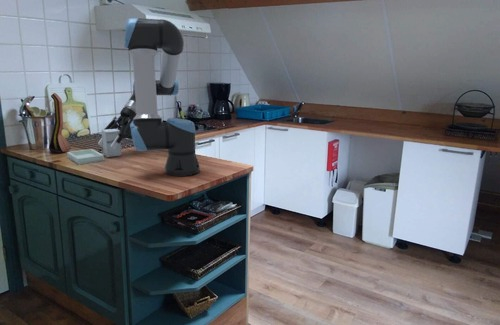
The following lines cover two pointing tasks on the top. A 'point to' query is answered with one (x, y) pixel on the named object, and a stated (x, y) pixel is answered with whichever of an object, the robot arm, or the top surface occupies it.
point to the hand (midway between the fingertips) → (106, 146)
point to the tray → (85, 156)
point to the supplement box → (110, 142)
